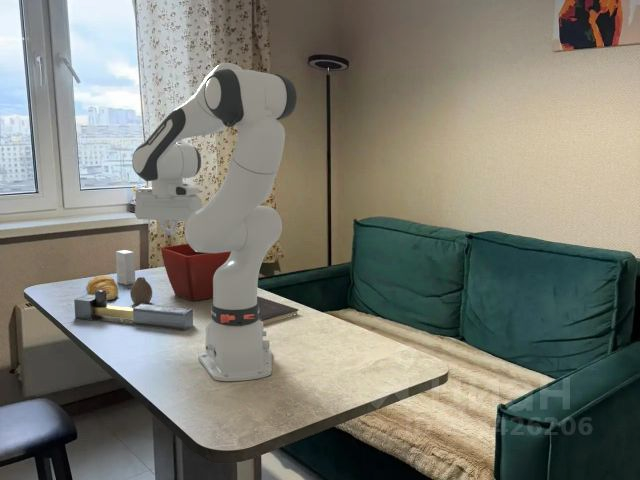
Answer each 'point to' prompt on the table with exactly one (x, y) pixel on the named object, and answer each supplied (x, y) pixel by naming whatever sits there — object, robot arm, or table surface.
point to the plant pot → (192, 270)
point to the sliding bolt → (109, 307)
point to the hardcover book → (273, 310)
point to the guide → (139, 315)
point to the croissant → (103, 286)
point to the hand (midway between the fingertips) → (169, 235)
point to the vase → (141, 291)
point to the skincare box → (125, 267)
